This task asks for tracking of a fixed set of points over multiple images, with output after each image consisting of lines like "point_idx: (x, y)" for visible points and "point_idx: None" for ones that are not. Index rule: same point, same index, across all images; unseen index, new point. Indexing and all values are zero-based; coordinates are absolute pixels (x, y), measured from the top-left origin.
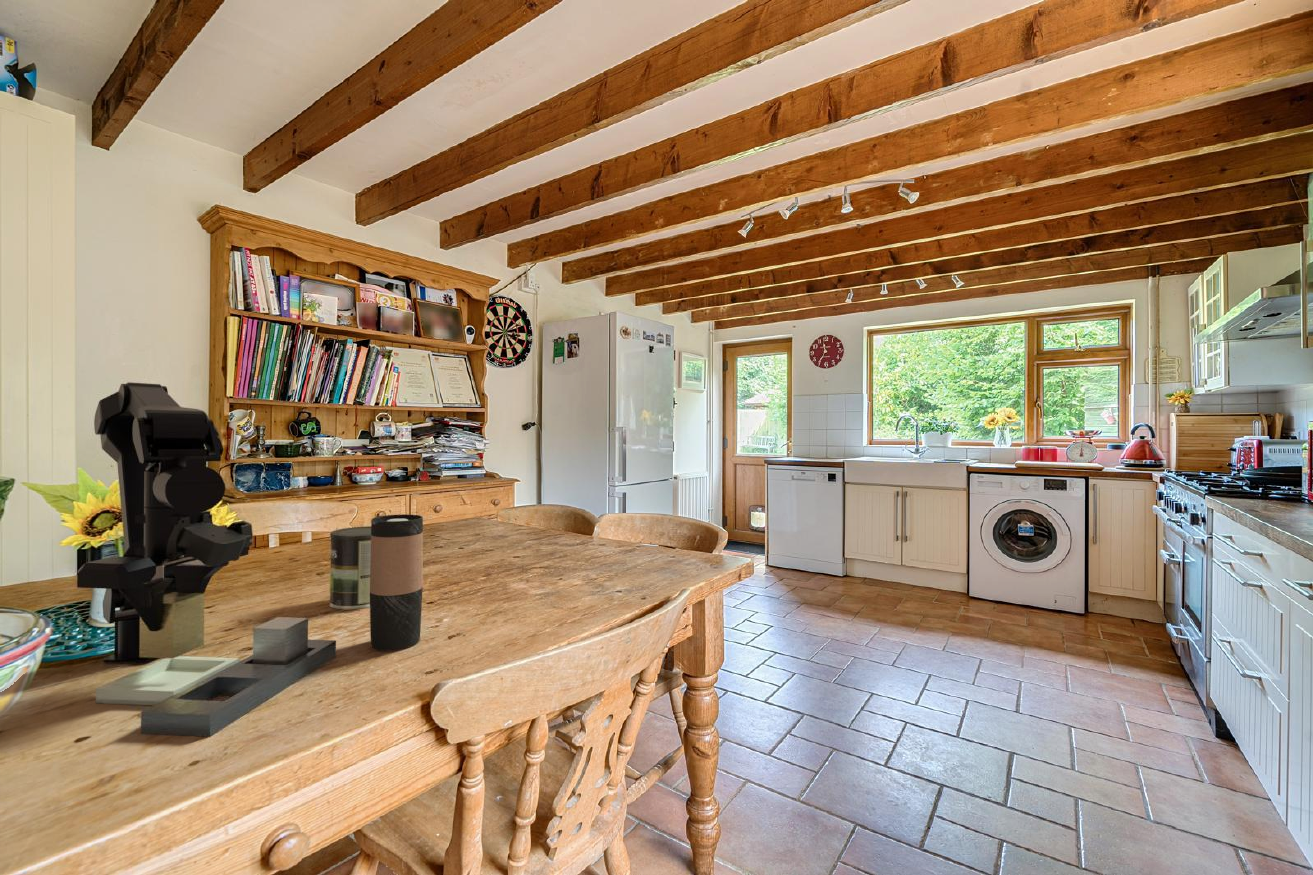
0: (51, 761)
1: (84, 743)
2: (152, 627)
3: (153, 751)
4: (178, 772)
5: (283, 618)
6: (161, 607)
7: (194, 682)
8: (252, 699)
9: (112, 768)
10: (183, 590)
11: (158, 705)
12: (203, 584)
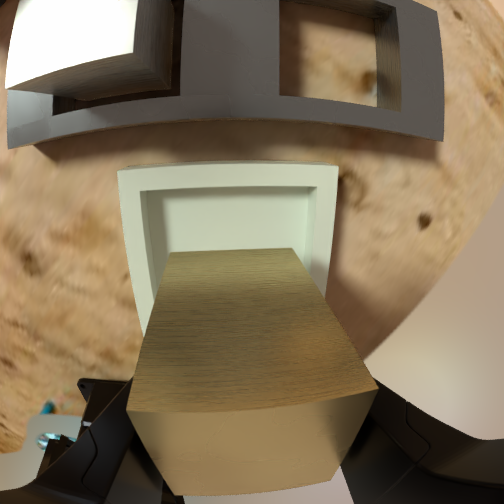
0: (465, 204)
1: (435, 204)
2: None
3: (451, 80)
4: (472, 25)
5: (18, 50)
6: (375, 405)
7: (277, 163)
8: None
9: (478, 108)
10: (154, 485)
11: (423, 127)
12: (91, 469)
